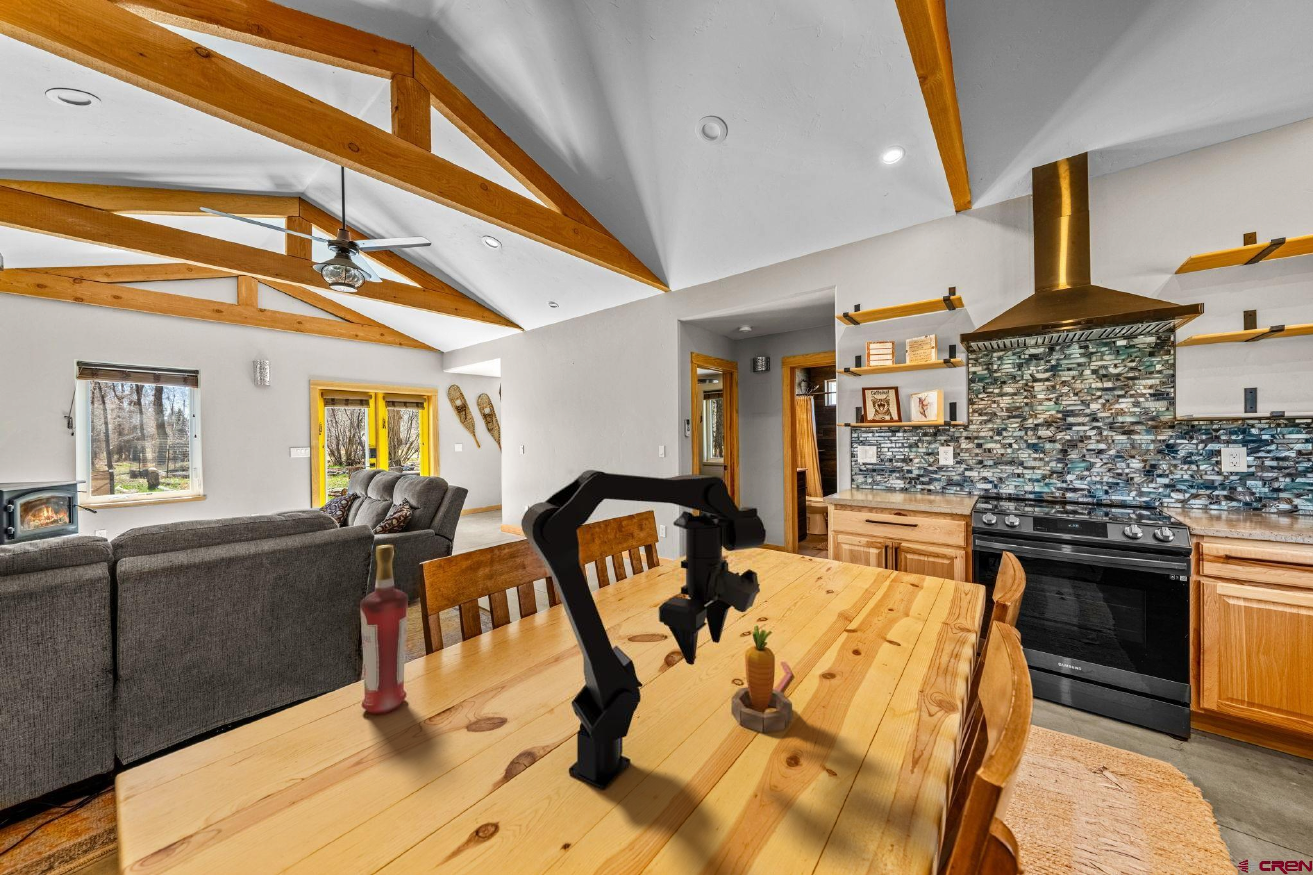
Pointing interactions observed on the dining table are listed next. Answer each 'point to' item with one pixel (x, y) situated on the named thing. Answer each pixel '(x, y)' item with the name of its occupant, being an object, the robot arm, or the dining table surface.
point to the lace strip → (785, 678)
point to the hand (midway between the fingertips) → (703, 652)
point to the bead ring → (762, 720)
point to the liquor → (384, 639)
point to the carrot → (760, 671)
